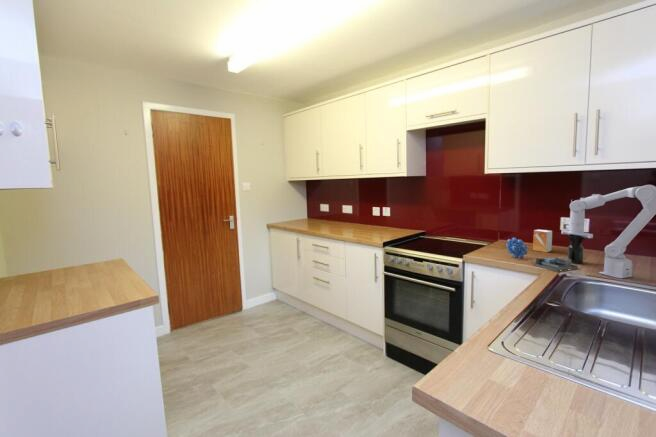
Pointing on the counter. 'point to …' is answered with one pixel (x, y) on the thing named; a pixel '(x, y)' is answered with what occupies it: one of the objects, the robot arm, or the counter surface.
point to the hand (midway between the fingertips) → (575, 249)
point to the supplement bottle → (576, 254)
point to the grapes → (516, 247)
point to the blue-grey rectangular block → (549, 260)
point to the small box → (542, 240)
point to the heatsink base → (560, 264)
